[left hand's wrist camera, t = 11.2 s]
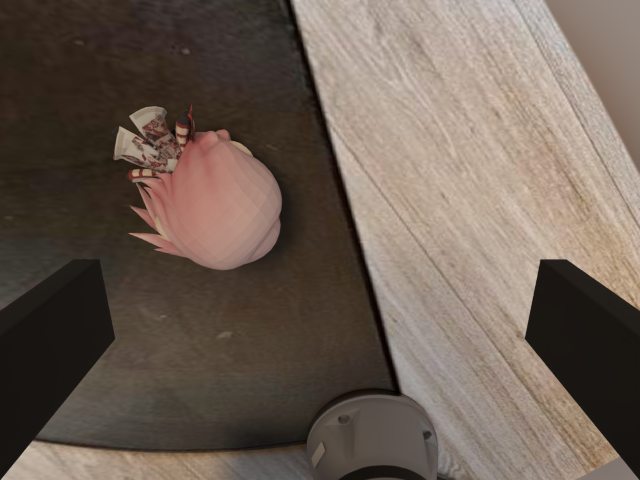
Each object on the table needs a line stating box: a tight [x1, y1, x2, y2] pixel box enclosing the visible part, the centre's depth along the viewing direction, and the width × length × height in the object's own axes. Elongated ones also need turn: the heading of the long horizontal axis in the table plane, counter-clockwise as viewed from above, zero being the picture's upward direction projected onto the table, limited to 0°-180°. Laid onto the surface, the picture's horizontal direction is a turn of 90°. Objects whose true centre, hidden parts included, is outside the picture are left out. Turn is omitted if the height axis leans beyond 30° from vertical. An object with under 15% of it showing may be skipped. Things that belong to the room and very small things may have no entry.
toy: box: [112, 105, 282, 270], centre depth 34 cm, size 12×11×15 cm
